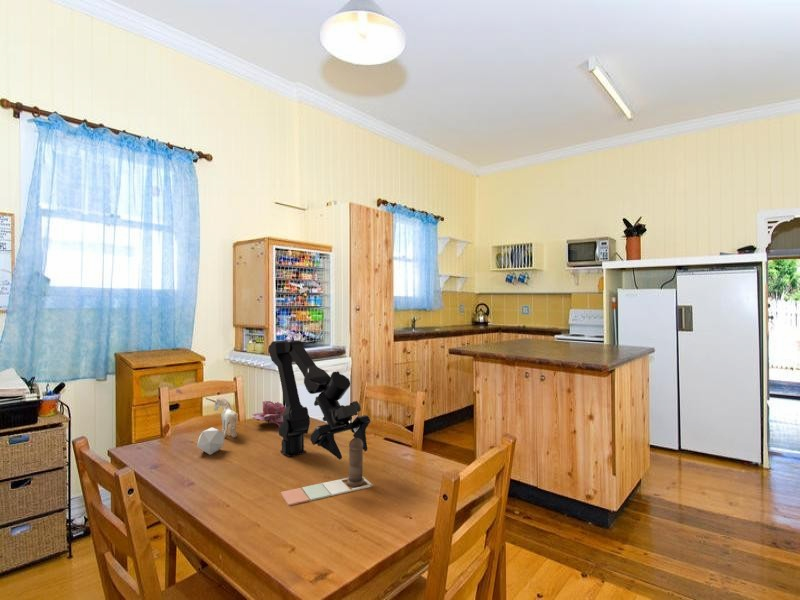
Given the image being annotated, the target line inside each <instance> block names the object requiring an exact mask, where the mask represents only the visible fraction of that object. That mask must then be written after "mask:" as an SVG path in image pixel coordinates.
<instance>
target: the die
mask: <svg viewBox="0 0 800 600" xmlns="http://www.w3.org/2000/svg"><path fill="white" fill-rule="evenodd" d="M224 436H225V435H224V434H223V433H222V431H220V430H219V429H217V428H215V427H213V426H212V427H209V428H208V429H205V430H203V431H202V432H201V434H200V435H199V437H198V441H197V445H196V447H197V448H198V449H199V450H201V451H203V452H204V453H206V454H208V455H209V456H210V455H213V454H214V453H216V452H218V451H220V450H221V449H222V447H223V445H224V444H225V443H224V442H225V438H224Z"/></svg>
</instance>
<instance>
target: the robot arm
mask: <svg viewBox="0 0 800 600" xmlns="http://www.w3.org/2000/svg"><path fill="white" fill-rule="evenodd" d="M267 350H268V353H269V355H270V359H271V361H272V363H274V365H275V366H276V367H277V369H278V375H279V380H280V386H281V389H282V395H283V401H284V404H285V405H284V406H285V407H286V409H285V411H284V414H283V423H282V425H281V426H280V427H278V429H277V430H278V436H279V437H282V440H281V450H280V453H281V454H283V455H285V456H287V457H289V458H290V457H295V456H298V455H301V454H305V453H307V450H306V449H305V446H304V445H305V444H304V443H305V434H308V433H309V428H310V425H311V420H310V419H311V417H310V415H309V414H310V413H309V410H308V407H307V406H303V405H302V403H301V401H300V396H299V390H298V387H297V382H296V376H295V372H294V368H293V361H294V362H295V364H296V366H297V367H298V369H299V370H300V372H301V373H302V375H303V377H304V378H303V384H304V387H305V389H306V390H307V392H308V393H309V394H311V395H314V394H318V396H316V397H315V399H314V402H313V405H314V406H315V407H317V406H319V408H320V411H321V413H322V415H323V417H322V421H323V422H326V424H322V425H321V424H320V425H318V426H316V427H315V429H313V431H312V433H311V435H310V436H309V437H310V442H311V444H312V445H314V446H315V445H317V446H318V447H321V448H323V449H324V450H326V451H328V452H329V453H331V454H332V455H333V456H334V457H336V458H337V459H339V460H341V459H342V458H343V456H342V452H341V451H340V449H339V446H338V444H337V443H336V440H335V434H339V433H343V432H346V431H351V433H353V435H352V436H353V438H359V439H361V440H362V442H363V452H367V451H368V444H367V443H368V442H367V435H366V434H367V433H366V429H368V427H369V425H370V423H372V420H371V418H370V417H369V415H366V414H364V415H359V416H357V415H358V414H359V412H361V411H362V410H361V405H360V403H359V402H358V400H355V401H352V402H349V404H347V405H344V404H342V405H341V404H340V402H339V401H340V400H341V399H342V397H343V396H344V395H345V394H346V392H347V391H348V389H349V388H350V387H351V381H350V380H351V379H349V377H347V376H345V375H344V374H341V373H340V372H339V371H332V373H331V375H329V374H328V373H327V372H326V371H325V370H324V369H322V368H320V367H318V366H317V365H316V363H315V362H314V360H313V359H312V358H311V356H310V355H309V353H308V352H307V350H306V349H305V347H304V345H303V342H302V341H301V340H298V339H295V340H288V339H287V340H273V341H272V342H271V343H270V344H269V345H268V349H267ZM300 403H301V404H300ZM354 416H356V417H355V418H354V420H353V421H352V419H353V417H354ZM351 421H352V422H351Z"/></svg>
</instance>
